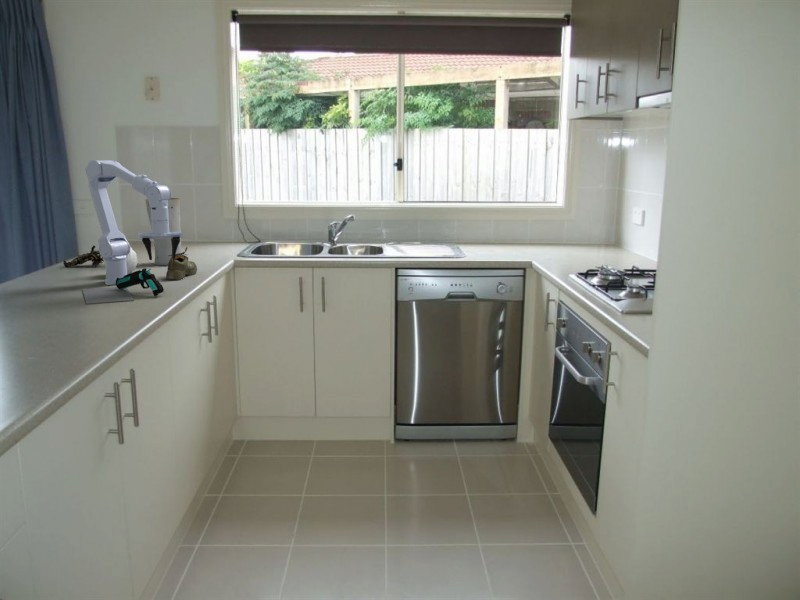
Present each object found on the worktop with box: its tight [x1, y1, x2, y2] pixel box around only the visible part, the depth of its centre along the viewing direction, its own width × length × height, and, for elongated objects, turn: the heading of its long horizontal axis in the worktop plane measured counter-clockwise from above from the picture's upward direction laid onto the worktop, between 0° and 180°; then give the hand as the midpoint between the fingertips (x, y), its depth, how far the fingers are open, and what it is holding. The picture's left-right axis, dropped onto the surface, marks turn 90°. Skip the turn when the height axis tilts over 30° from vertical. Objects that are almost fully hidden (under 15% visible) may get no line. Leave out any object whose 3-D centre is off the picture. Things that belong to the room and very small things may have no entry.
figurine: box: [63, 244, 104, 269], centre depth 278 cm, size 10×8×18 cm
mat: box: [82, 286, 135, 305], centre depth 224 cm, size 24×14×1 cm, turn 27°
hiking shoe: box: [165, 246, 198, 281], centre depth 261 cm, size 8×20×12 cm, turn 177°
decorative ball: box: [103, 246, 138, 274], centre depth 259 cm, size 12×12×12 cm
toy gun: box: [114, 268, 165, 297], centre depth 228 cm, size 3×20×10 cm, turn 63°
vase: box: [145, 197, 183, 267], centre depth 286 cm, size 13×14×28 cm
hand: (162, 259), depth 236 cm, fingers open, 7 cm apart
